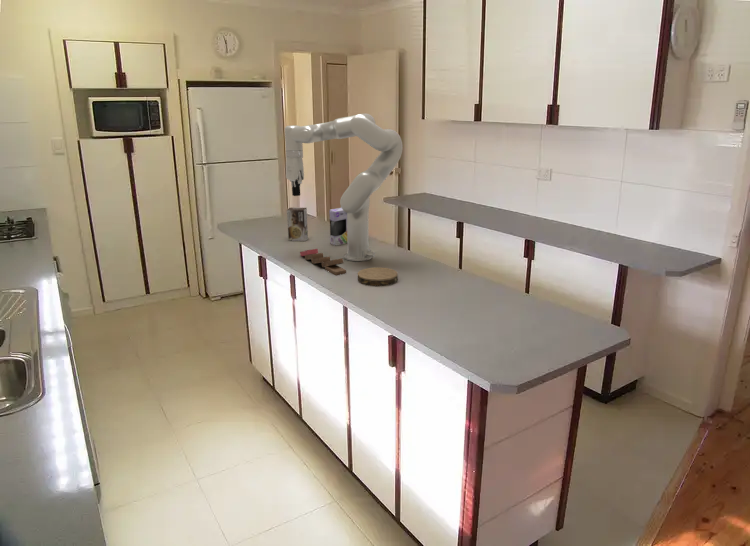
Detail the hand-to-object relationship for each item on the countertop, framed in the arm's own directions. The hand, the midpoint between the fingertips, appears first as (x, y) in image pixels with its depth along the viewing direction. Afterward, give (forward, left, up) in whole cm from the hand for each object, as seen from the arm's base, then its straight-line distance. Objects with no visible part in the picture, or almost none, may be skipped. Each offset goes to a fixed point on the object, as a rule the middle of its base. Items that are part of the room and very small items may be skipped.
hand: (296, 195), depth 246 cm
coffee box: (+17, -20, -27) cm, 38 cm away
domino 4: (-27, +12, -27) cm, 40 cm away
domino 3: (-24, +11, -26) cm, 37 cm away
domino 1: (-10, +5, -26) cm, 29 cm away
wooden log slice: (-52, +14, -28) cm, 61 cm away
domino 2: (-17, +8, -26) cm, 32 cm away
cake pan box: (-7, -28, -27) cm, 40 cm away
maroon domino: (-5, +2, -26) cm, 27 cm away
